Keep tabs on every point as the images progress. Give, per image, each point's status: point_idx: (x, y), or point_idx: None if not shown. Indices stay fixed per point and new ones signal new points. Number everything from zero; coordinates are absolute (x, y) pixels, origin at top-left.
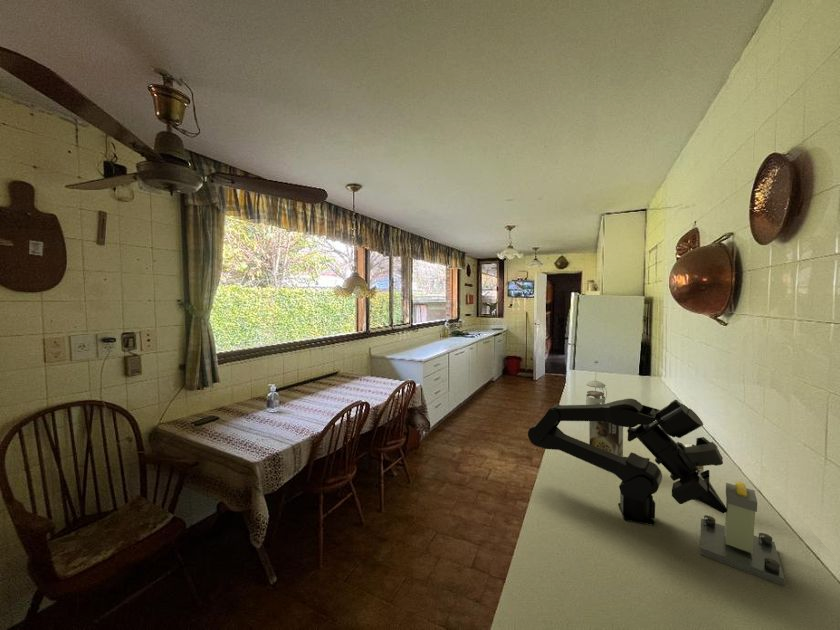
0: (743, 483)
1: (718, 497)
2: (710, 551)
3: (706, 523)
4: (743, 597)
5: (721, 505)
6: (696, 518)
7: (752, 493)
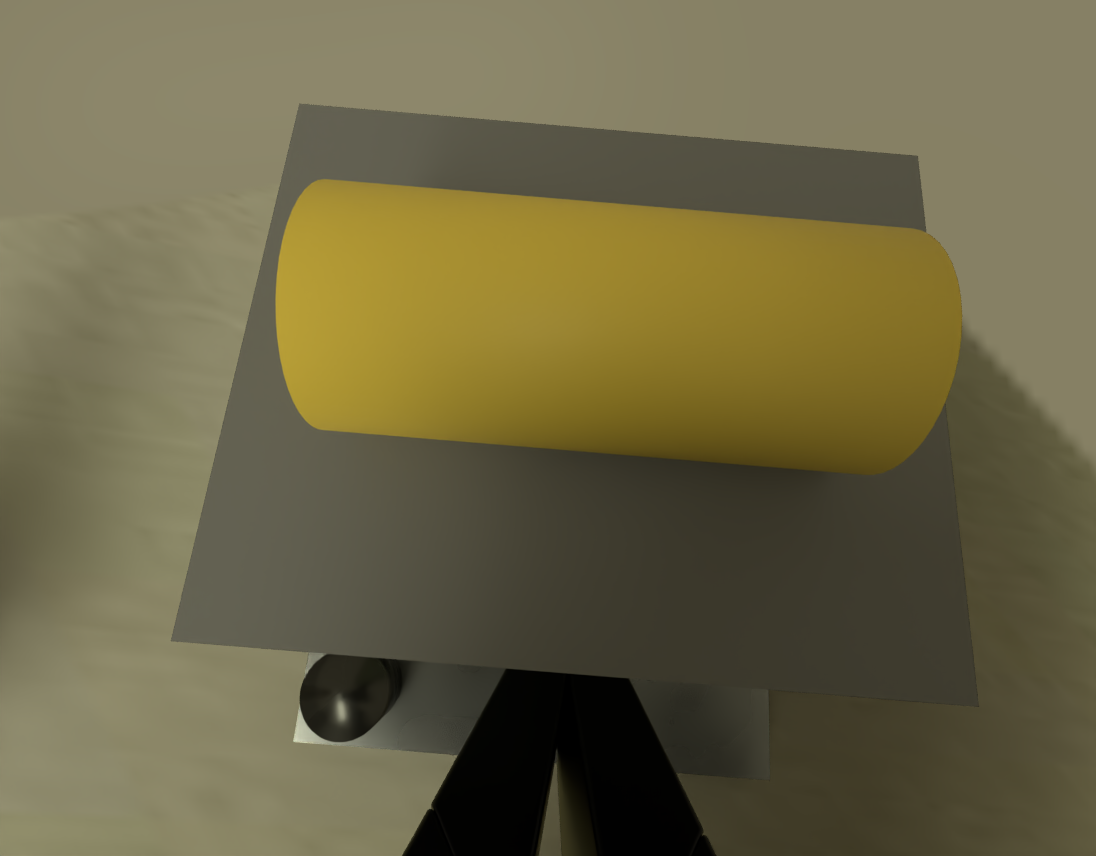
0: (315, 188)
1: (542, 756)
2: (765, 711)
3: (388, 711)
4: (1005, 561)
5: (632, 695)
6: (233, 752)
7: (493, 162)
